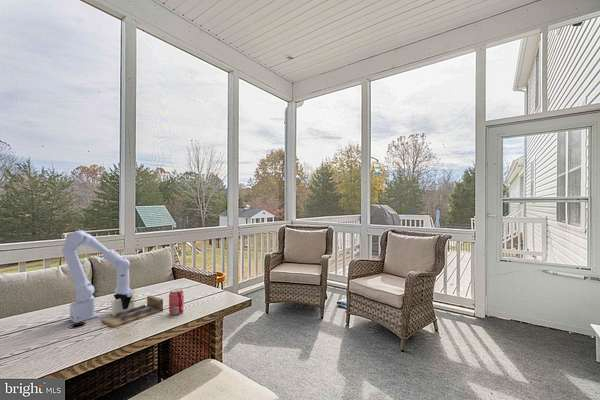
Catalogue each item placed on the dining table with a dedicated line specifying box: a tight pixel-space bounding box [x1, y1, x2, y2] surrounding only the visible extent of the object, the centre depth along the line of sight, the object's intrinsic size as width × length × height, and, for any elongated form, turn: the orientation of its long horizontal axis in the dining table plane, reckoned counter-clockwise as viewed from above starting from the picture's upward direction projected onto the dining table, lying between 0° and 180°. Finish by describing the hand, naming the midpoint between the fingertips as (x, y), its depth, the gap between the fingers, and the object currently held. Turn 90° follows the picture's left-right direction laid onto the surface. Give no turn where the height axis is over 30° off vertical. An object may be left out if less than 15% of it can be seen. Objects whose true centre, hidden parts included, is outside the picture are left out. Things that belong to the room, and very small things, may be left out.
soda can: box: [168, 288, 185, 316], centre depth 146 cm, size 7×7×12 cm
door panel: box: [110, 295, 135, 316], centre depth 148 cm, size 10×4×7 cm, turn 147°
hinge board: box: [101, 295, 164, 329], centre depth 142 cm, size 24×12×6 cm, turn 147°
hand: (123, 307), depth 148 cm, fingers open, 4 cm apart
